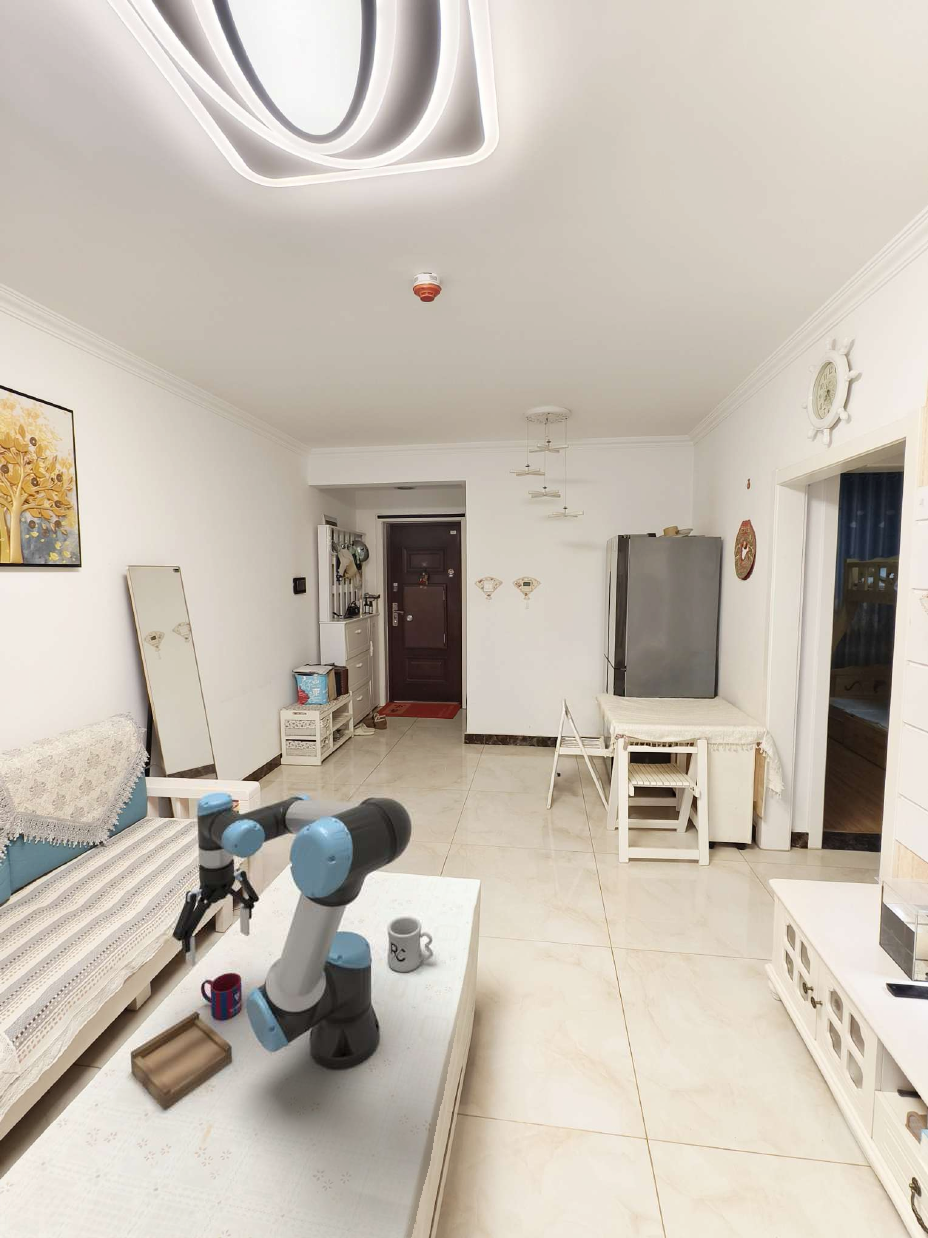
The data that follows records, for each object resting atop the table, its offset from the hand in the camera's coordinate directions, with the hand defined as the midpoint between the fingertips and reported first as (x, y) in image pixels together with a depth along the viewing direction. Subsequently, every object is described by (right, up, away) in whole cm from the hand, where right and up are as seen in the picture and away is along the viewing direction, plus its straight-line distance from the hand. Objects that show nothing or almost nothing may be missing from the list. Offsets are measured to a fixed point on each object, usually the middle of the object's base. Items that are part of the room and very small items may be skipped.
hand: (218, 948), depth 137 cm
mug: (+44, -14, +17) cm, 49 cm away
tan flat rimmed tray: (-1, -16, -15) cm, 22 cm away
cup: (0, -15, +1) cm, 15 cm away
